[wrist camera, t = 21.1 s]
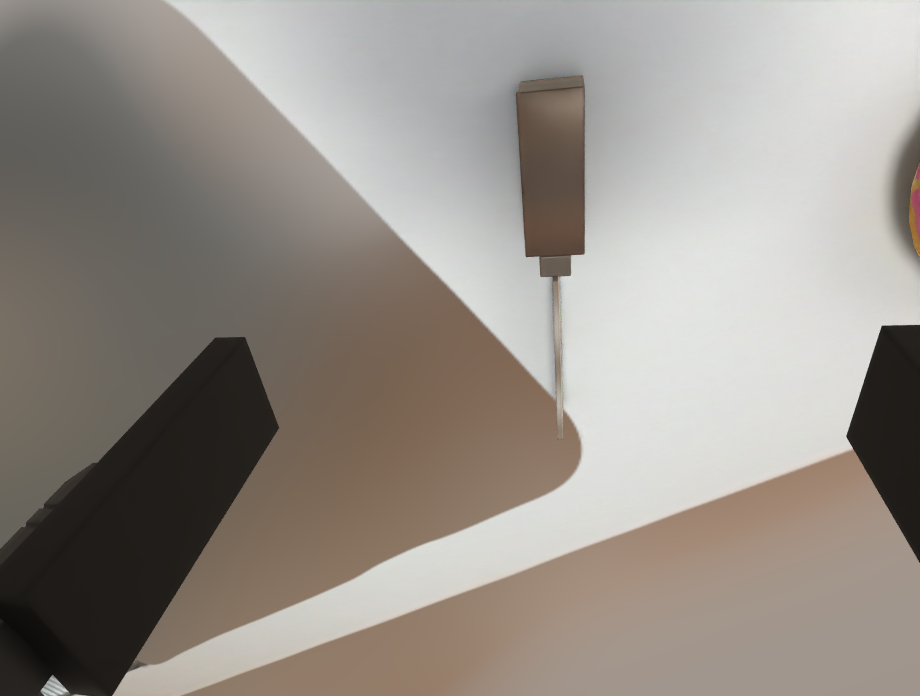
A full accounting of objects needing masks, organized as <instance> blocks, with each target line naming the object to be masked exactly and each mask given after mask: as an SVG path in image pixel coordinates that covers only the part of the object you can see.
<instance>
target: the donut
mask: <svg viewBox="0 0 920 696" xmlns="http://www.w3.org/2000/svg"><path fill="white" fill-rule="evenodd" d="M909 223H910V228H911V234H912V239H913V244H914V248H915V250H916V252H917V254H918V256H919V258H920V162H919V165H918V168H917V171H916V174H915V177H914V180H913V183H912V187H911V198H910V212H909Z"/></svg>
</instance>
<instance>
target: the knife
mask: <svg viewBox="0 0 920 696" xmlns="http://www.w3.org/2000/svg"><path fill="white" fill-rule="evenodd" d="M516 101H517V118H518V134H519V151H520V168H521V185H522V201H523V218H524V235H525V251H526V257H535V256H540V257H539V259H540V276H541V277H553V281H552V283H553V313H554V343H555V372H556V402H557V431H558V439H559V440H562V439H563V381H562V343H561V304H560V276H570V275H571V255H582V254H584V253H585V197H584V80H583V76H582V75H581V76H571V77H562V78H552V79H542V80H532V81H522V82H521V83H520V85H519V88H518V90H517V93H516Z"/></svg>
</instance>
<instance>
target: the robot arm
mask: <svg viewBox="0 0 920 696" xmlns="http://www.w3.org/2000/svg"><path fill="white" fill-rule="evenodd" d="M278 429H279V426H278V424H277V421H276V418H275V416H274V413H273V410H272V408H271V405H270V402H269V400H268V397H267V394H266V392H265V389H264V387H263V384H262V381H261V378H260V376H259V373H258V370H257V368H256V365H255V362H254V360H253V357H252V354H251V352H250V349H249V346H248V344H247V341H246V339H245V337H233V338H231V337H230V338H215V339H214V340H213V341H212V342H211V343H210V344H209V345H208V346H207V347H206V348H205V349H204V350H203V351H202V353H200V355H199V356H198V357H197V358H196V359H195V360H194V361H193V362H192V363H191V364H190V365H189V366H188V367H187V368H186V369H185V370H184V372H183V373H182V374H181V375H180V376H179V377H178V378H177V379H176V380H175V381H174V382H173V383H172V384H171V386H169V387H168V389H167V390H166V391H165V392H164V393H163V394H162V395H161V396H160V397H159V398H158V399H157V400H156V401H155V402H154V403H153V404H152V406H151V407H150V408H149V409H148V410H147V411H146V412H145V413H144V414H143V415H142V416H141V417H140V418H139V419H138V420H137V421H136V423H135V424H134V425H133V426H132V427H131V428H130V429H129V430H128V431H127V432H126V433H125V434H124V435H123V436H122V437H121V438H120V439H119V441H118V442H117V443H116V444H115V445H114V446H113V447H112V448H111V449H110V450H109V451H108V452H107V453H106V454H105V455H104V456H103V457H102V458H101V460H100V461H99V462H98V463H92V464H91V465H89V466H88V467H86V468H85V469H84V470H82V471H81V472H79V473H78V474H76V475H75V476H73V477H72V478H71V479H69V480H68V481H66V482H65V483H64V484H63V485H62V486H61V487H60V488H59V489H58V490H57V491H56V492H55V493H54V494H53V495H52V496H51V497H50V498H49V499H48V501H46V503H45V504H44V508H43V509H39V510H38V511H37V512H36V513H35V514H34V515H33V516H32V517H31V518H30V519H29V520H28V521H27V522H26V527H21V528H20V529H19V530H18V531H17V532H16V533H15V535H14V536H13V537H12V538H11V539H10V540H9V541H8V542H7V543H6V544H5V545H4V546H3V547H2V548H1V549H0V696H44V695H43V694H42V693H41V692H40V691H41V689H42V688H43V687H44V685H45V684H46V682H47V681H48V680H49V678H50V677H51V676H52V674H53V675H54V676H55V677H56V679H57V680H58V681H59V682H60V683H61V684H62V685H63V686H64V687H65V688H66V689H67V690H68V691H69V693H70V694H78V695H87V696H112V695H113V694H114V692H115V690H116V689H117V687H118V685H119V684H120V682H121V681H122V679H123V677H124V676H125V674H126V673H127V671H128V669H129V668H130V666H131V665H132V663H133V661H134V660H135V658H136V657H137V655H138V653H139V652H140V650H141V649H142V647H143V645H144V644H145V642H146V641H147V639H148V637H149V636H150V634H151V633H152V631H153V629H154V628H155V626H156V624H157V623H158V621H159V620H160V618H161V617H162V615H163V613H164V611H165V610H166V608H167V607H168V605H169V604H170V602H171V600H172V599H173V597H174V596H175V594H176V592H177V591H178V589H179V588H180V586H181V584H182V583H183V581H184V580H185V578H186V576H187V574H188V573H189V572H190V570H191V568H192V567H193V565H194V563H195V562H196V560H197V559H198V557H199V555H200V554H201V552H202V551H203V549H204V547H205V546H206V544H207V543H208V541H209V539H210V538H211V536H212V535H213V533H214V531H215V530H216V528H217V526H218V525H219V523H220V522H221V520H222V519H223V517H224V515H225V514H226V512H227V511H228V509H229V507H230V506H231V504H232V503H233V501H234V499H235V498H236V496H237V495H238V493H239V491H240V490H241V488H242V487H243V485H244V483H245V482H246V480H247V478H248V477H249V475H250V474H251V472H252V471H253V469H254V467H255V466H256V464H257V463H258V461H259V459H260V458H261V456H262V454H263V453H264V451H265V450H266V448H267V446H268V445H269V443H270V442H271V440H272V438H273V437H274V435H275V434H276V432H277V430H278ZM846 437H847V439H848V440H849V442H850V444H851V446H852V447H853V449H854V451H855V452H856V454H857V456H858V458H859V459H860V461H861V463H862V464H863V466H864V468H865V470H866V471H867V473H868V475H869V476H870V478H871V480H872V481H873V483H874V485H875V487H876V488H877V490H878V492H879V494H880V495H881V497H882V499H883V500H884V502H885V504H886V505H887V507H888V509H889V511H890V512H891V514H892V516H893V518H894V519H895V521H896V523H897V524H898V526H899V528H900V529H901V531H902V533H903V534H904V536H905V538H906V540H907V542H908V543H909V545H910V547H911V548H912V550H913V552H914V554H915V555H916V557H917V559H918V560H919V562H920V325H894V326H882V327H881V330H880V333H879V336H878V339H877V342H876V346H875V349H874V352H873V355H872V358H871V361H870V364H869V367H868V371H867V374H866V377H865V380H864V383H863V386H862V389H861V392H860V395H859V399H858V402H857V405H856V408H855V411H854V414H853V417H852V420H851V423H850V427H849V430H848V433H847V436H846Z"/></svg>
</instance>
